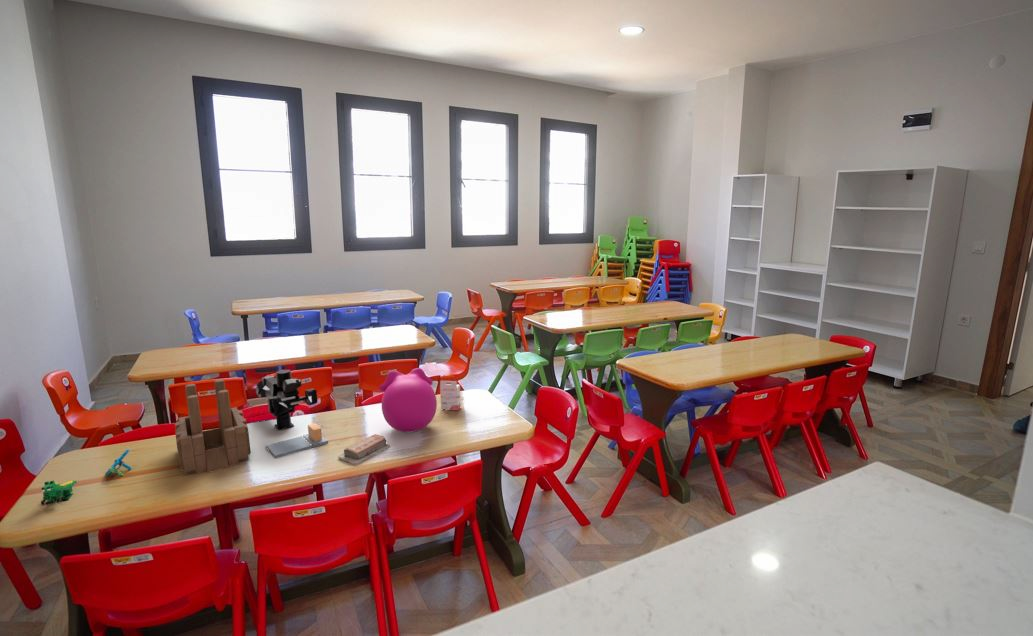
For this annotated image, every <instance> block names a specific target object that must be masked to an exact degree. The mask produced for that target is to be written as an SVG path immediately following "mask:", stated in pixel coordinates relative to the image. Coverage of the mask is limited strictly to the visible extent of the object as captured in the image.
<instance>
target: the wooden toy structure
mask: <svg viewBox="0 0 1033 636" xmlns="http://www.w3.org/2000/svg"><path fill="white" fill-rule="evenodd" d="M184 388H185V396H186V397H185V398H186V403H187V404H186V405H187V410H188V416H183V417H178V418H177V419H178V420H177V422H175V423H174V429H175V439H176V448H177V449H176V450H177V456H178V462H179V468H180V469H179V470H181V471H182V472H184V475H185V476H186V475H190V474H193V473H196V474H200V473H205V472H207V473H208V474H209V473H212V472H216V471H220V470H224V469H225V470H226V469H230V466H233V465H238V464H240V463H239V462H244V461H248V460H249V455H250V454H251V453H252V452H251V451H252V449H251V441H250V433H249V427H248V425H247V418H244V412H243V411H242V410H239V409H238V407H237V406H236V407H231V402H230V393H229V390H228V389H226V385H225V379H223V378H222V379H215V380H214V392H215V399H216V407H217V414H218V421H219V427H217V428H213V429H208V430H203V425H202V418H201V417H202V416H201V410H200V402H199V396H198V394H197V386H196V384H195V383H189V384H186V385H185V386H184ZM216 445H222V446H220V447H214V448H211V449H210V448H209V449H207V450H206V447H207V448H208V447H211V446H216Z"/></svg>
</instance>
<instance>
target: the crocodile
mask: <svg viewBox="0 0 1033 636" xmlns="http://www.w3.org/2000/svg"><path fill="white" fill-rule="evenodd" d="M76 483H77V480H69V481H67V482H64V483H61V484H60V483H58V481H56V480H50V481H49V480H47V481H45V482H44V485H43V487H41V492H42V494H43V497H42V500H41V501H40V505H41V506H45V505H48V504H54V503H55V502H56V503H60V502H66V501H67V502H68V501H69V500H70V499H71V498H72V496H73V495H74V492H73V487H74V486H75V484H76Z"/></svg>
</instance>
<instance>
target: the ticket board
mask: <svg viewBox="0 0 1033 636" xmlns="http://www.w3.org/2000/svg"><path fill="white" fill-rule="evenodd" d="M265 447H266V449H267V450H268V451H269V452H270V453H271V455H272V456H273V457H274V458H275V459H277V458H280V457H283V456H284V457H285V456H287V455H290V454H295V453H298V452H302V451H305V450H309V449H312V448H314V447H313V446H312V444H310V442H308V441H307V440H306V439H305V438H304V437H303V435H300V436H297V437H292V438H289V439H286V440H282V441H278V442H273V443H270V444H267V445H266V446H265Z"/></svg>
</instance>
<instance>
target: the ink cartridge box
mask: <svg viewBox="0 0 1033 636" xmlns="http://www.w3.org/2000/svg"><path fill="white" fill-rule="evenodd" d="M439 385H440V386H439V389H440V390H439V391H440V410H441V409H447V410H458V411H459V410H460V409H461V408H460V407H461V405H462V404H461V385H460V384H458V381H456V380H440V384H439ZM447 410H446V411H447Z"/></svg>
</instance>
